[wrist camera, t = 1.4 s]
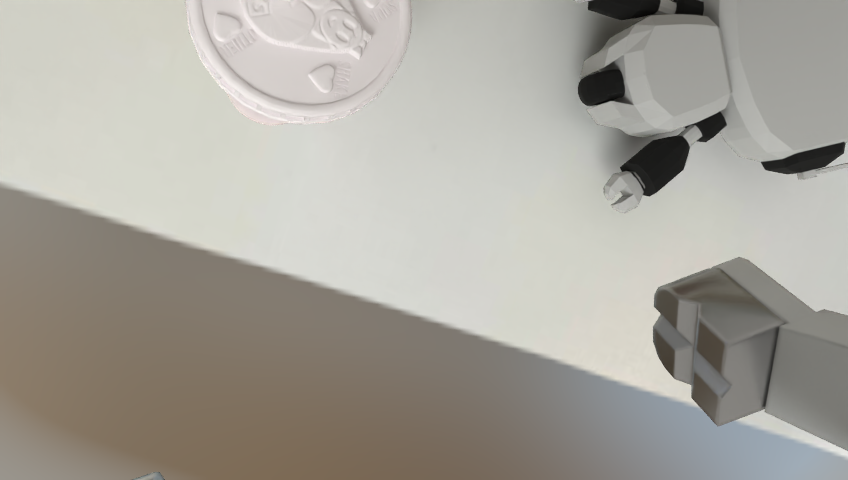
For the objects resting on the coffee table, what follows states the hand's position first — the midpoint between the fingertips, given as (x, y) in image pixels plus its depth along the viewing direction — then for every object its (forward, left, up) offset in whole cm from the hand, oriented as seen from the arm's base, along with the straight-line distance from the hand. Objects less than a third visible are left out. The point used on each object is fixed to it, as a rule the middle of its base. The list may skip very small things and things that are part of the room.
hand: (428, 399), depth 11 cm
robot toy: (+18, +14, -19) cm, 30 cm away
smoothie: (-2, +9, -19) cm, 21 cm away
